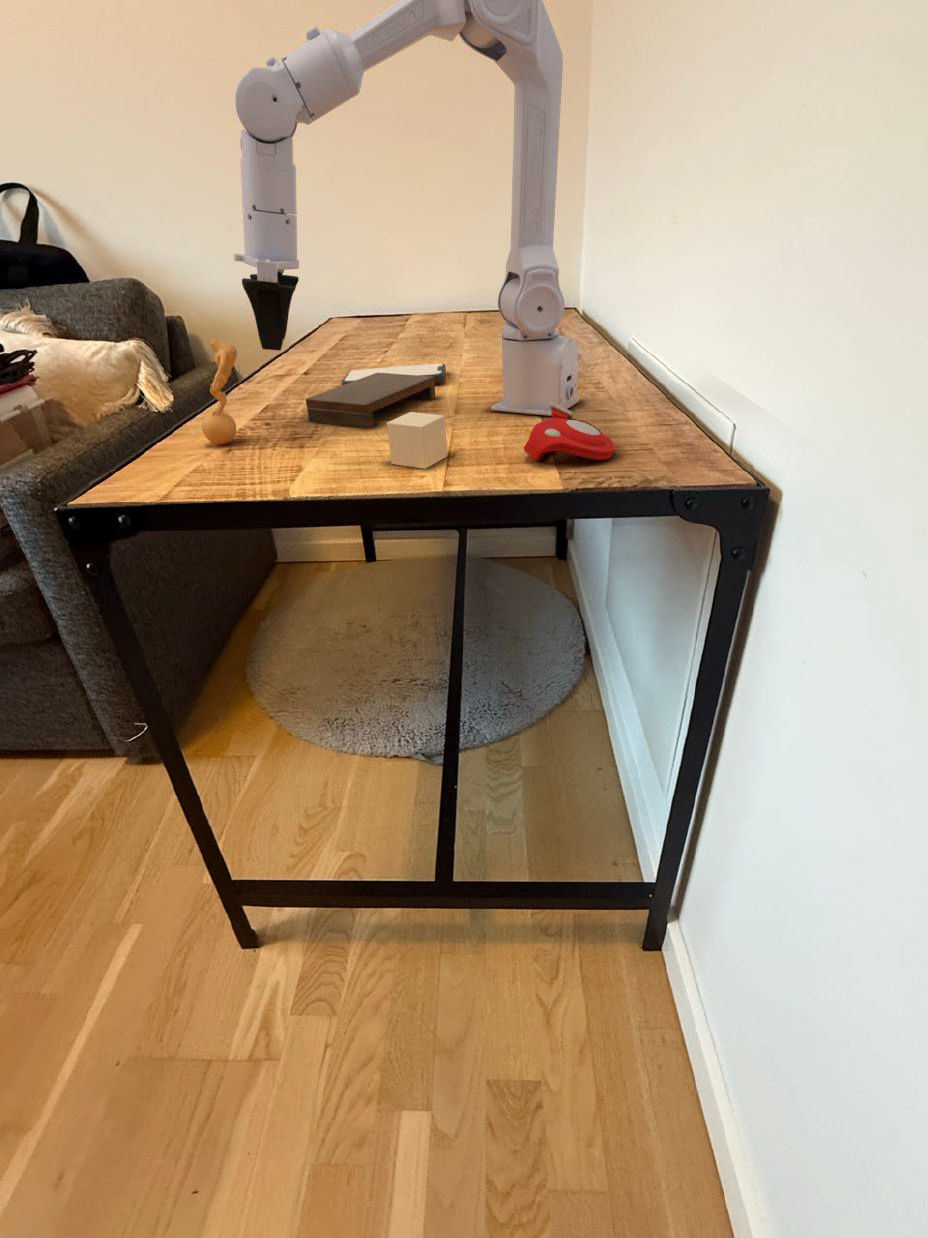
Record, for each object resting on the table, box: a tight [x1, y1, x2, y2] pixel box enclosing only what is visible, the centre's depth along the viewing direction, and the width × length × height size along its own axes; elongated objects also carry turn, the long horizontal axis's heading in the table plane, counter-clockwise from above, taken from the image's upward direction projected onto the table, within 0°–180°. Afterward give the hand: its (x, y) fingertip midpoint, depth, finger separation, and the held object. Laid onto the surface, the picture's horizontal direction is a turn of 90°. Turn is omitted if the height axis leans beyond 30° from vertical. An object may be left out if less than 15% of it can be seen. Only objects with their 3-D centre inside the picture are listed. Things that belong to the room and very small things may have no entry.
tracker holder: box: [523, 402, 616, 462], centre depth 72 cm, size 12×4×10 cm
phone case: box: [341, 363, 447, 386], centre depth 107 cm, size 9×2×16 cm
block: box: [386, 411, 448, 470], centre depth 72 cm, size 4×4×4 cm
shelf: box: [305, 373, 436, 429], centre depth 92 cm, size 10×16×3 cm, turn 150°
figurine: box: [201, 338, 238, 445], centre depth 80 cm, size 8×6×12 cm
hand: (273, 343), depth 80 cm, fingers open, 7 cm apart
